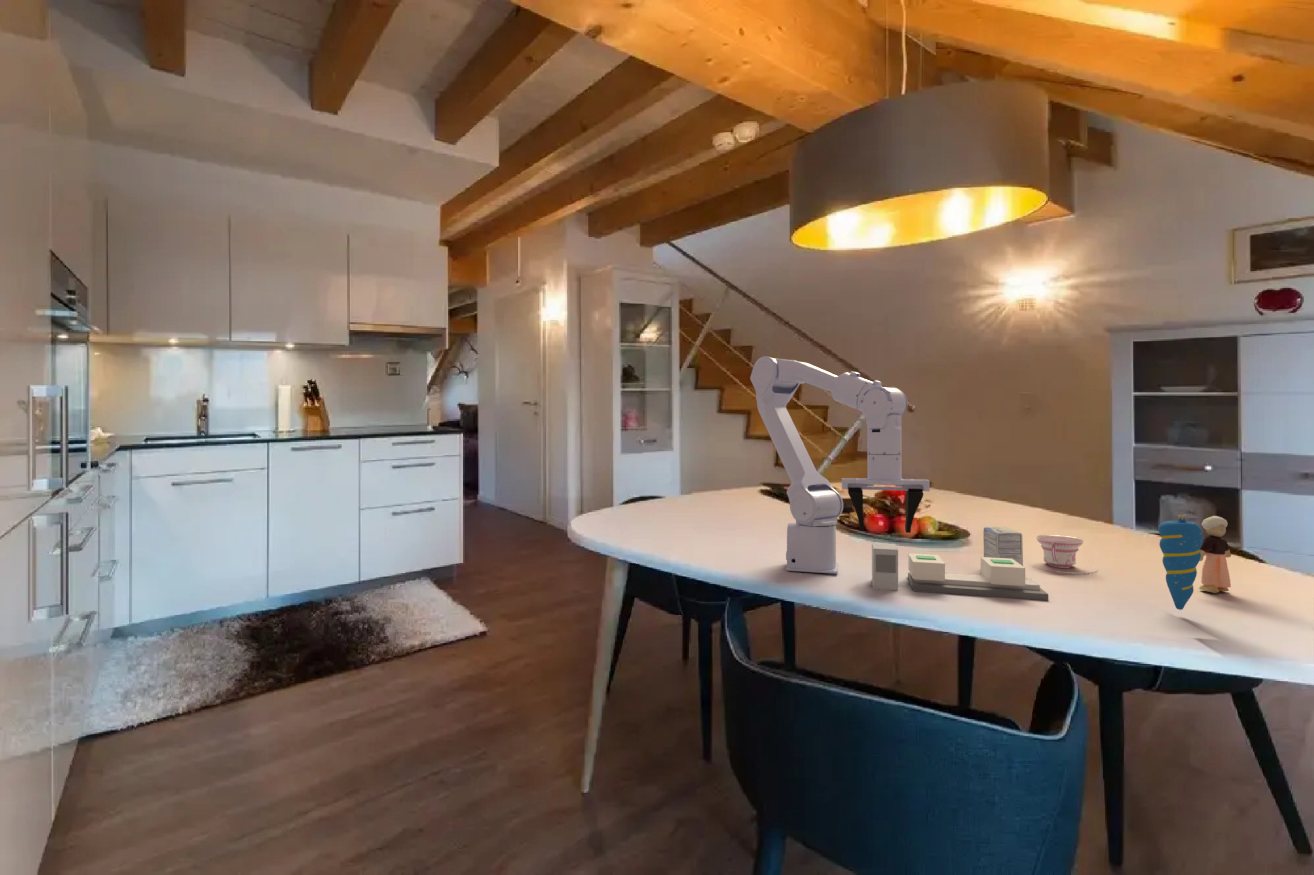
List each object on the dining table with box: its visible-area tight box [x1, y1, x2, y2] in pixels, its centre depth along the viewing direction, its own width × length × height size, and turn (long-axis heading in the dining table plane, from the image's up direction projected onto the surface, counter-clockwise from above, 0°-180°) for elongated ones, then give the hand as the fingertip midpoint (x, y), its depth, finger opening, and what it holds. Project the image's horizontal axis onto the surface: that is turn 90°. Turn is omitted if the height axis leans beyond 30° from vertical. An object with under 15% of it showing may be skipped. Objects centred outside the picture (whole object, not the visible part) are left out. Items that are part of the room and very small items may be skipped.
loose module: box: [871, 542, 899, 591], centre depth 106 cm, size 4×6×7 cm, turn 163°
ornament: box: [1157, 510, 1204, 611], centre depth 91 cm, size 5×5×15 cm
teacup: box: [1034, 534, 1098, 575], centre depth 120 cm, size 12×12×6 cm
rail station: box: [907, 552, 1049, 601], centre depth 104 cm, size 20×10×5 cm, turn 73°
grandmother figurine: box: [1198, 515, 1232, 593], centre depth 103 cm, size 8×4×13 cm, turn 117°
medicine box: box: [982, 526, 1024, 567], centre depth 114 cm, size 8×4×9 cm, turn 168°
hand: (884, 531), depth 106 cm, fingers open, 7 cm apart
